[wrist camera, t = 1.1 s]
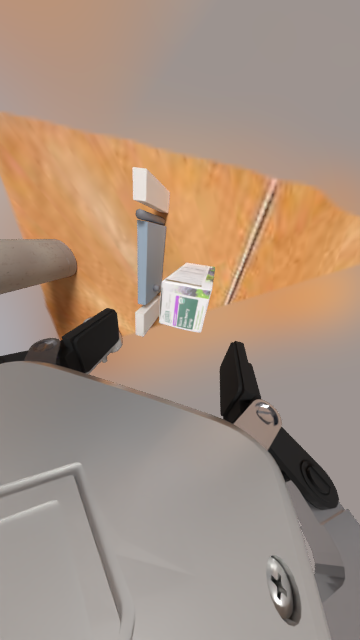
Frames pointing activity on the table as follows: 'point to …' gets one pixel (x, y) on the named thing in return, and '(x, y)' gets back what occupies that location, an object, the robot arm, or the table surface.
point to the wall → (158, 199)
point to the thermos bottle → (33, 262)
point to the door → (150, 255)
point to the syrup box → (186, 297)
